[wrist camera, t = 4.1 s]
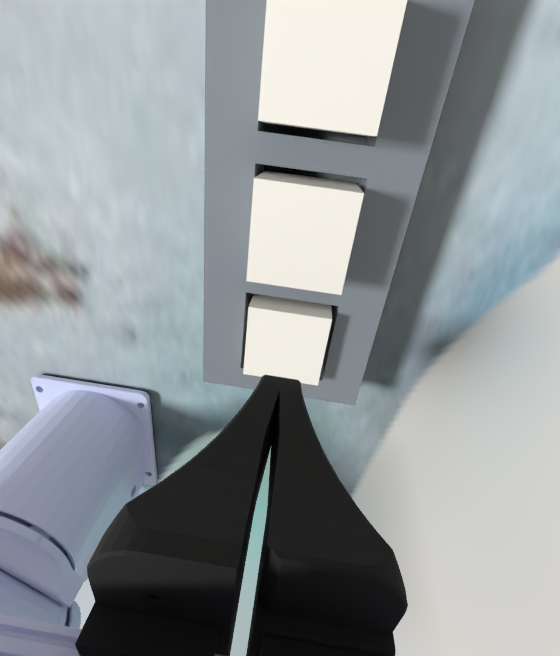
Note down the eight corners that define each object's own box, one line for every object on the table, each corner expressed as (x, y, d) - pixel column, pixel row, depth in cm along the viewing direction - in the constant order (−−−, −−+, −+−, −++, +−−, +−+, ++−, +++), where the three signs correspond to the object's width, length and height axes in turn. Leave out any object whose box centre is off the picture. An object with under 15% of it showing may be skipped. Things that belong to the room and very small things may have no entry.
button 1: (317, 352, 20) (317, 385, 17) (253, 343, 20) (243, 373, 17) (330, 293, 18) (332, 319, 15) (258, 282, 18) (248, 306, 15)
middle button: (337, 269, 16) (341, 295, 14) (258, 257, 16) (246, 280, 14) (355, 182, 14) (363, 193, 12) (265, 170, 14) (254, 178, 12)
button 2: (365, 136, 13) (376, 136, 11) (269, 123, 14) (258, 120, 11) (392, 7, 12) (413, -30, 9) (281, -6, 12) (270, -47, 9)
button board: (351, 377, 21) (354, 405, 19) (215, 356, 21) (203, 381, 19) (463, -31, 12) (494, -68, 10) (226, -59, 12) (206, -101, 10)
